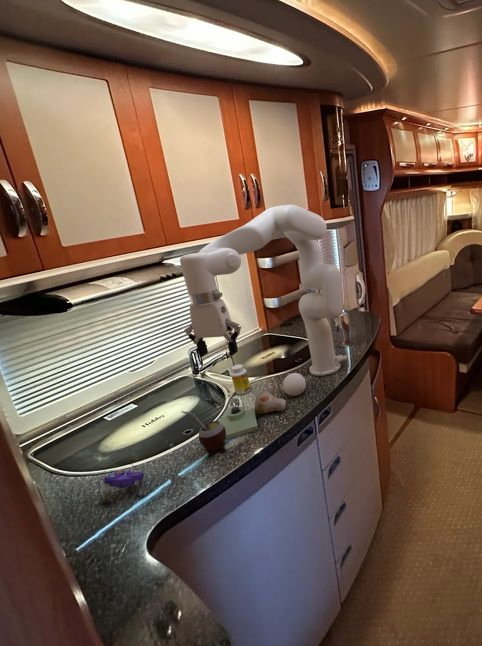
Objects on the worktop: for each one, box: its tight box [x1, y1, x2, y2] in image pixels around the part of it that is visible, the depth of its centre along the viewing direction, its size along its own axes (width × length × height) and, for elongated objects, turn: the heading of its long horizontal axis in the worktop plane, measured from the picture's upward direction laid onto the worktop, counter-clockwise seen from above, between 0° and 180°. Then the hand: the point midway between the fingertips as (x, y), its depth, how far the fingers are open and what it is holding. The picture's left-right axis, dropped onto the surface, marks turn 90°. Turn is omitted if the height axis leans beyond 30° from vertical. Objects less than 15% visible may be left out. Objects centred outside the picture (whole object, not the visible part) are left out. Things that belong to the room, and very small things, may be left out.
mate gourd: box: [181, 410, 227, 458], centre depth 105 cm, size 8×8×15 cm
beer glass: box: [333, 311, 352, 348], centre depth 171 cm, size 7×7×15 cm
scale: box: [218, 406, 259, 441], centre depth 118 cm, size 11×13×3 cm
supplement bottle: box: [230, 363, 252, 395], centre depth 139 cm, size 6×6×10 cm
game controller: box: [98, 462, 145, 505], centre depth 95 cm, size 10×8×10 cm
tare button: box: [230, 405, 240, 414], centre depth 121 cm, size 2×2×2 cm
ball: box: [282, 372, 307, 397], centre depth 132 cm, size 8×8×8 cm
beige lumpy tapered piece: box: [254, 391, 287, 415], centre depth 123 cm, size 8×10×10 cm
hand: (219, 354), depth 109 cm, fingers open, 9 cm apart
